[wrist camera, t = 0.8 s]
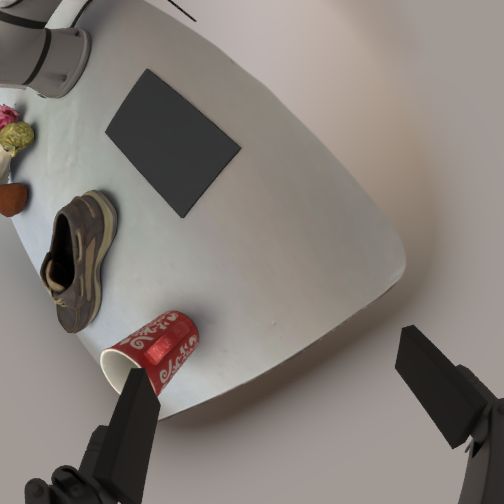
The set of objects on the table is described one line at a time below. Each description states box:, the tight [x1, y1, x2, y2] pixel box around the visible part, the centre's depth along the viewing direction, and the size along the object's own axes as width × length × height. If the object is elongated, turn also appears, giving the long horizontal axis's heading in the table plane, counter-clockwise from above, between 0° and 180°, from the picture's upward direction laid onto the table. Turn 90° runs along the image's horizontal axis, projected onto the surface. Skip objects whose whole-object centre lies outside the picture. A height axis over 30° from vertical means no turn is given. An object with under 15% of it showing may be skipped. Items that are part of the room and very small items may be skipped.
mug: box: [100, 311, 199, 397], centre depth 36 cm, size 13×9×14 cm
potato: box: [0, 183, 27, 217], centre depth 47 cm, size 8×12×8 cm
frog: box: [0, 121, 35, 185], centre depth 43 cm, size 12×13×18 cm
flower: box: [0, 104, 20, 132], centre depth 43 cm, size 11×10×10 cm
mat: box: [105, 69, 241, 218], centre depth 36 cm, size 20×12×1 cm, turn 47°
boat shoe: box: [40, 190, 117, 333], centre depth 42 cm, size 11×29×11 cm, turn 154°
